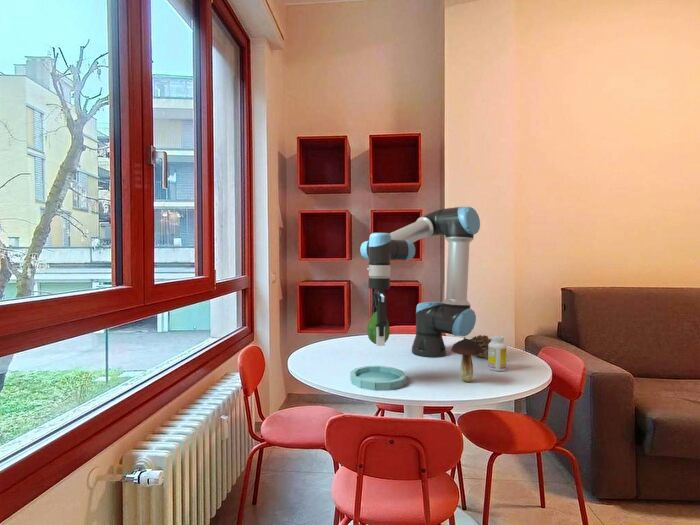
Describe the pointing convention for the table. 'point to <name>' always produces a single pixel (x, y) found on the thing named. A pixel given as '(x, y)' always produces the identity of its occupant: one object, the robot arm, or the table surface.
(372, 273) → the robot arm
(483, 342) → the pine cone
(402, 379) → the dish
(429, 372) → the table surface
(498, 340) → the supplement bottle
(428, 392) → the table surface
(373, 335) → the avocado
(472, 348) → the decorative mushroom
